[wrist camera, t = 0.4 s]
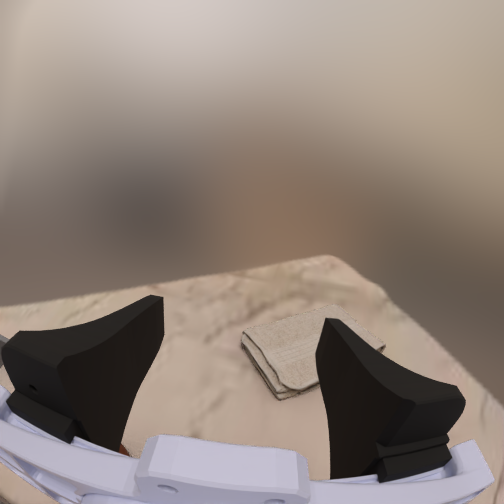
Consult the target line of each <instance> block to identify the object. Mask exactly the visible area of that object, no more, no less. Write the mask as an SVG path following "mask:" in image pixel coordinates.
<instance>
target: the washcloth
mask: <svg viewBox="0 0 504 504" xmlns="http://www.w3.org/2000/svg"><path fill="white" fill-rule="evenodd" d="M325 318H337V319H340V320H341V321H342V322H344V323H345V324H346V325H347V326H348V327H349V328H351V329H352V330H353V331H354V332H355V333H356V334H357V335H359V336H360V337H361V338H362V339H363V340H364V341H366V342H367V343H368V344H369V345H371V346H372V347H373V348H374V349H376V350H377V351H378V352H380V353H382V352H383V350H384V349H385V347H386V344H384V343H383V341H381V340H380V339H379V338H377V337H376V336H375V335H374V334H372V333H371V332H369V331H367V330H366V329H364V328H363V327H362V326H360V325H359V324H358V323H357V322H356V320H355V319H354V318H353V317H352V316H351V315H350V314H349V313H347V312H346V311H345V310H344V309H343V308H341V307H340V306H339V305H337V304H332V305H329V306H325V307H323V308H320V309H318V310H313V311H310V312H305V313H302V314H297V315H295V316H291V317H289V318H284V319H282V320H279V321H276V322H271V323H269V324H264V325H258V326H254V327H253V328H247V330H244V331H243V336H242V339H241V343H243V344H244V345H245V348H246V353H247V354H248V356H249V358H250V359H251V361H252V363H253V364H254V365H255V367H256V368H257V369H258V370H259V372H260V373H261V375H262V377H263V378H264V380H265V382H266V383H267V384H268V386H269V387H270V389H271V390H272V392H273V393H274V395H275V396H276V397H277V398H278V399H285V398H287V397H296V396H298V395H299V394H300V395H301V394H303V393H307V392H310V391H312V390H314V389H317V388H319V387H320V384H319V380H318V375H317V370H316V360H315V352H316V349H317V345H318V342H319V339H320V335H321V332H322V328H323V325H324V321H325Z"/></svg>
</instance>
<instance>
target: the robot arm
mask: <svg viewBox="0 0 504 504" xmlns="http://www.w3.org/2000/svg"><path fill="white" fill-rule="evenodd" d="M163 338H164V304H163V297H160V296H155V295H149V296H147V297H144V298H142V299H140V300H138V301H136V302H134V303H132V304H130V305H128V306H126V307H124V308H122V309H120V310H118V311H116V312H114V313H111V314H109V315H107V316H104V317H102V318H99V319H97V320H94V321H91V322H87V323H84V324H80V325H76V326H71V327H67V328H61V329H54V330H43V331H19V332H18V333H16V334H15V335H14V336H13V337H12V338H11V339H10V340H9V341H8V342H7V343H6V344H5V345H3V346H2V349H1V356H2V361H3V364H4V367H5V369H6V371H7V373H8V375H9V378H10V380H11V382H12V384H13V386H14V388H15V391H14V392H13V393H12V394H11V393H10V392H9V391H8V390H7V389H6V388H5V387H3V386H2V385H0V462H1V463H2V464H4V465H5V466H6V467H8V468H9V469H10V470H11V471H13V472H14V473H15V474H17V475H18V476H20V477H21V478H22V479H24V480H25V481H26V482H28V483H29V484H31V485H32V486H34V487H35V488H37V489H38V490H40V491H41V492H43V493H44V494H46V495H47V496H49V497H50V498H52V499H54V500H55V501H57V502H59V503H60V504H467V503H469V502H470V501H471V500H473V499H474V498H475V497H476V496H478V495H479V494H480V493H482V492H483V491H484V490H485V489H486V488H488V487H489V486H490V485H491V484H492V483H494V481H495V479H494V477H493V475H492V473H491V471H490V469H489V467H488V465H487V463H486V461H485V459H484V457H483V455H482V453H481V451H480V449H479V448H478V446H477V444H476V442H475V440H474V439H471V440H469V441H466V442H463V443H460V444H457V445H455V446H453V447H452V448H450V449H448V447H447V445H446V444H447V443H448V442H449V437H448V435H447V433H448V432H449V430H450V429H451V428H452V427H453V425H454V424H455V423H456V421H457V420H458V419H459V417H460V416H461V414H462V413H463V410H464V408H465V404H466V400H465V398H464V397H463V395H462V394H461V392H460V391H459V389H458V387H457V386H455V385H451V384H447V383H443V382H439V381H436V380H433V379H430V378H427V377H424V376H422V375H419V374H417V373H414V372H412V371H410V370H408V369H406V368H404V367H402V366H400V365H399V364H397V363H395V362H394V361H392V360H390V359H389V358H387V357H385V356H384V355H383V354H381V353H380V352H378V351H377V350H376V349H374V348H373V347H372V346H371V345H369V344H368V343H367V342H366V341H364V340H363V339H362V338H361V337H360V336H359V335H357V334H356V333H355V332H354V331H353V330H352V329H351V328H349V327H348V326H347V325H346V324H345V323H344V322H342V321H341V320H340V319H337V318H325V321H324V325H323V328H322V332H321V335H320V339H319V342H318V345H317V349H316V352H315V360H316V370H317V375H318V380H319V384H320V388H321V392H322V396H323V400H324V404H325V408H326V413H327V419H328V428H329V441H330V480H318V481H316V480H309V473H308V463H307V458H305V457H304V456H302V455H300V454H299V453H297V452H296V451H293V450H288V449H283V448H277V447H263V446H251V445H240V444H231V443H223V442H216V441H210V440H203V439H197V438H192V437H187V436H182V435H169V434H160V435H157V436H154V437H151V438H148V439H147V441H146V443H145V446H144V449H143V452H142V454H141V457H140V459H139V458H133V457H129V456H126V455H123V454H120V453H119V449H120V445H121V441H122V437H123V433H124V430H125V426H126V423H127V420H128V417H129V414H130V411H131V408H132V405H133V402H134V399H135V397H136V394H137V392H138V390H139V387H140V385H141V383H142V382H143V380H144V378H145V376H146V374H147V372H148V370H149V368H150V367H151V365H152V363H153V361H154V359H155V357H156V355H157V353H158V351H159V349H160V346H161V343H162V340H163Z"/></svg>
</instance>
